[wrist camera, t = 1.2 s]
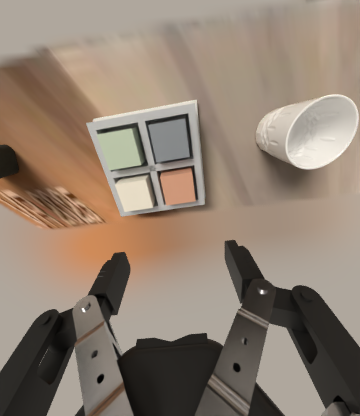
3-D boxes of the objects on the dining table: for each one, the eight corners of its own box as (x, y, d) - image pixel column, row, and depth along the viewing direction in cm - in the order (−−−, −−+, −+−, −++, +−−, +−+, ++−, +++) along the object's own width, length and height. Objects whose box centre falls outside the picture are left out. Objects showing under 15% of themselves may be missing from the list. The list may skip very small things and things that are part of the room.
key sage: (137, 127, 24) (131, 128, 21) (145, 160, 26) (141, 165, 23) (106, 133, 24) (96, 134, 22) (116, 165, 27) (109, 170, 24)
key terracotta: (190, 166, 27) (191, 172, 24) (193, 193, 29) (195, 201, 26) (161, 171, 27) (160, 177, 24) (167, 197, 29) (166, 205, 26)
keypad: (195, 100, 25) (199, 95, 21) (204, 196, 33) (209, 207, 28) (95, 119, 26) (79, 118, 22) (126, 207, 34) (118, 220, 30)
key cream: (149, 173, 27) (145, 179, 24) (155, 199, 30) (153, 207, 27) (121, 178, 28) (114, 184, 25) (129, 203, 30) (124, 211, 27)
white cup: (305, 102, 26) (372, 92, 17) (292, 154, 29) (341, 168, 21) (255, 105, 26) (296, 96, 17) (248, 156, 30) (278, 171, 21)
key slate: (184, 119, 24) (184, 118, 21) (188, 152, 26) (189, 156, 23) (151, 124, 24) (148, 125, 21) (158, 157, 26) (156, 162, 23)
